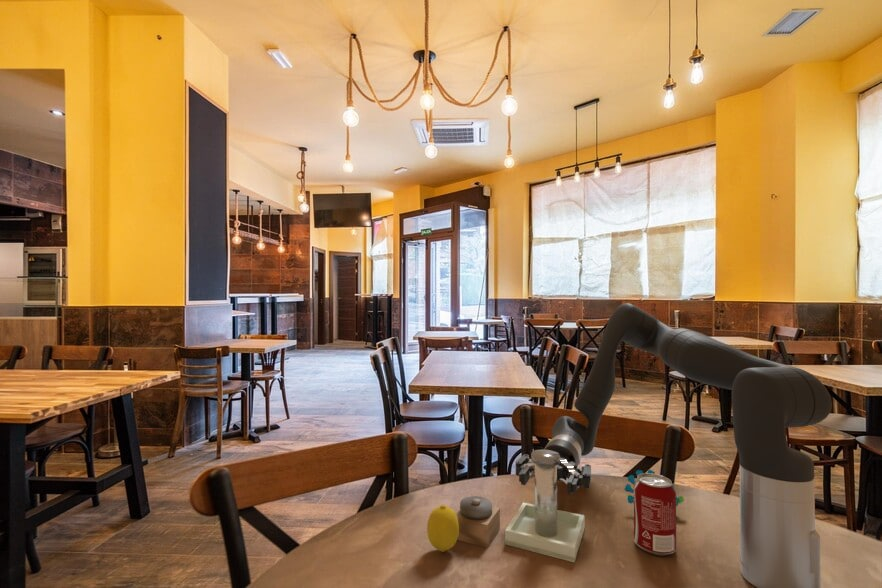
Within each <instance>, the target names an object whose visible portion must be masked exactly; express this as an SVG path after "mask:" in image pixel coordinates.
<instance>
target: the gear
mask: <svg viewBox="0 0 882 588" xmlns="http://www.w3.org/2000/svg"><path fill="white" fill-rule="evenodd" d="M643 473H644V471H643V470H640V469H637V470H636V472H635V475H636V476H638V475H639V474H643ZM646 473H651V474H656V473H655V471H654V470H652V469H648V470H647V472H646ZM660 475H661V476H664V475H663V474H660ZM635 480H636V479H635V476H634V475H633V474H631V475H628V476H627V481H628V482H629V483H631V484H632V485H633V486H634V484H635V483H636V481H635ZM629 483H627V484H626V485H625V487H624V491H625V492H628V493H632V494H633V495H630V494H629V495H627V499H626V500H627V501H628V503H629V504H634V488H632V486H631V484H629ZM671 486H672V487H673V489H674V490H675V487H674V485H673V484H672V485H671ZM684 501H685V498H684V496H682V495H679V496H676V508H677V507H678V505H679V504H683V502H684Z"/></svg>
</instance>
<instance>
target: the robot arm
mask: <svg viewBox="0 0 882 588" xmlns="http://www.w3.org/2000/svg"><path fill="white" fill-rule="evenodd" d="M621 342H623V343H625V344H627V345H629V346H630V347H633V348H634V349H635V348H636V349H638V350H641V351H643V352H647V353H650V354H652V355H654V356H657V357H659V358H660V360H661V361H662V362H663V363H664V365H666V366H668V367H669V368H670V369H671V370H674V371H675V372H676V373H679V374H680V375H682V376H684V377H686V378H688V379H690V380H692V381H694V382H698V383H701V384H704V385H705V384H706V385H709V386H711V387H712V386H713V387H717V388H722V389H725V390H730V391H731V410H732V420H733V421H732V422H733V423H732V424H733V425H732V426H733V438H734V443H735V447H736V449H737V452H738V455H739V457H738V458H739V527H740V528H739V534H740V535H739V541H740V544H739V548H740V550H739V551H740V555H739V561H740V564H739V565H740V573H741V575H742V577H743V578H744V579H745V580H746V581H747V582H748V583H749V584H751V585H753V586H754V587H755V588H822V587H821V586H822V585H821V584H822V583H821V581H822V580H821V579H822V577H821V575H822V574H821V567H822V566H821V536H820V534H819V532H818V531H817V530H816V521H815V520H816V517H815V516H816V515H815V513H816V509H815V507H816V506H815V504H816V502H815V497H816V496H815V463H814V461H813V459H812V458H811V456H809V455H807V454H806V453H805V452H802V451H800V450H798V449H795V448H791V447H789V445H788V441H787V436H786V435H787V434H786V429H787V428H804V427H805V428H806V427H809V426H814V425H816V424H819V423H821V422H822V421H824V420H826V419H827V418H828V417H829V415H830V414H831V411H832V407H833V403H832V398H831V395H830V393H829V391H828V389H827V388H826V387H825V385H824V384H823V383H822V382H821V380H819V379H818V378H817V377H816V376H815V375H813V374H812V373H810V372H809V371H806V370H805V369H801V368H799V367H795V366H791V365H788V364H784V363H779V362H776V361H773V360H769V359H764V358H762V357H758V356H757V355H753V354H750V353H748V352H746V351H744V350H742V349H739V348H737V347H734V346H733V345H729V344H727V343H725V342H721V341H719V340H717V339H715V338H712V337H710V336H709V335H706V334H704V333H702V332H698V331H696V330H692V329H688V328H676V329H675V328H673V327H671V326H668V325H666V324H665V323H664V322H662V321H660V320H659V319H658V318H657V317H655V316H653V315H652V314H650V313H649V312H646V311H645V310H643V309H642V308H640V307H638V306H636V305H635V304H632V303H629V302H627V303H622V304H620V305H619V306H617V307H616V308H615V309H614V311H613V312H612V314H611V315H610V317H609V319H608V322H607V324H606V327H605V330H604V332H603V335H602V338H601V341H600V344H599V345H598V349H597V352H596V354H595V355H596V356H595V358H594V361H593V364H592V367H591V369H590V372H589V374H588V375H587V378H586V380H585V382H584V384H583V385H582V388H581V390H580V392H579V393H578V396H577V397H576V399H575V401H574V403H573V404H574V405H573V406H574V407H575V409H576V411H578V412H579V413H580V414H582V416H584V418H585V419H586V420H587V426H586V425H585V424H583V423H581V422H579V421H578V420H576V419H575V418H573V417H571V416H568V415H562V416H560V417H558V418H557V419H556V420H555V422H554V424H553V427H552V431H551V439H550V440H549V442H547V444H546V446H545V447H544V448H543V450H551V451H555V452H557V453H559V454H560V463H559V464H558V465H557V482H558V481H559V482H561V481H562V482H564V483H565V484H566V485H567V486H566V490H567V491H566V492H567V494H568V495H572V494H573V493H576V492H577V490H578V489H579V488H580V486H582V488H584V489H590V487H591V486H590V485H591V482H592V481H591V480H592V465H591V464H584V465H582V466H579V465H580V462H581V458H582V457H585V456H587V455H590V453H591V452H592V451H594V448H595V444H596V440H597V439H596V438H597V434H598V430H599V429H598V428H599V426H600V425H599V424H600V422H601V418H602V417H603V413H604V412H605V410H606V408H607V406H608V404H610V403H609V402H610V400H611V399H612V396H613V394H614V391H615V387H616V356H617V352H618V349H619V346H620V344H621ZM530 469H531V470H530ZM515 476H516V477H517V476H518V481H519V483H520V484H521V486H526V485H527V483H528V482H529V480H530V479H533V478H534V479H535V463H534V462H532V460H531V458H530V455H529V454H526V453H525V454H522V456H521V457H520V458H518V459H517V460H516V461H515Z"/></svg>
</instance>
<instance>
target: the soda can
mask: <svg viewBox="0 0 882 588" xmlns="http://www.w3.org/2000/svg"><path fill="white" fill-rule="evenodd" d="M661 475H662V474H656V473H655V474H651V473H647V472H646V473H644V472H643V474H639V475H638V476H637V475H636V476H637V480H636V481H635V482H636V483H635V484H634V485H633V490H634V494H633V497H634V502H633V541H634V543H635V545H636V546H637V547H639V548H640V549H642V550H643V551H645V552H646V553H648V554H651V555H655V556H660V557H662V556H668V555H672V554H674V553H675V552H676V550H677V507H676V497H677V493H676V491H675V488H674V489H673V487H672V486H671V485H673V483H672V480H671V479H670V478H668V477H666V476H664V475H663V476H661Z"/></svg>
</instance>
